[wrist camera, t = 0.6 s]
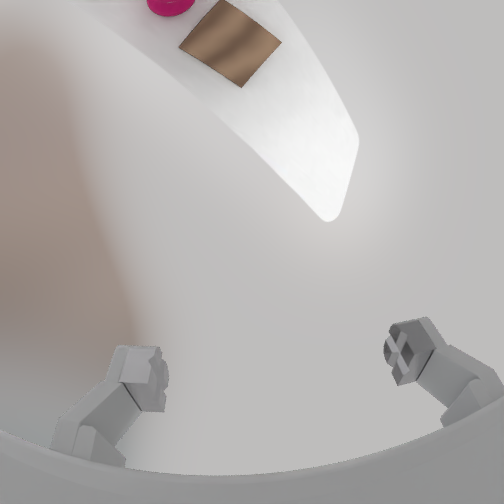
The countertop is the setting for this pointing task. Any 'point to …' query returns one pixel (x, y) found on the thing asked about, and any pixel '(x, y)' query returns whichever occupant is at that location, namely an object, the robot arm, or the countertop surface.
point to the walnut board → (230, 43)
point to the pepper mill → (169, 6)
